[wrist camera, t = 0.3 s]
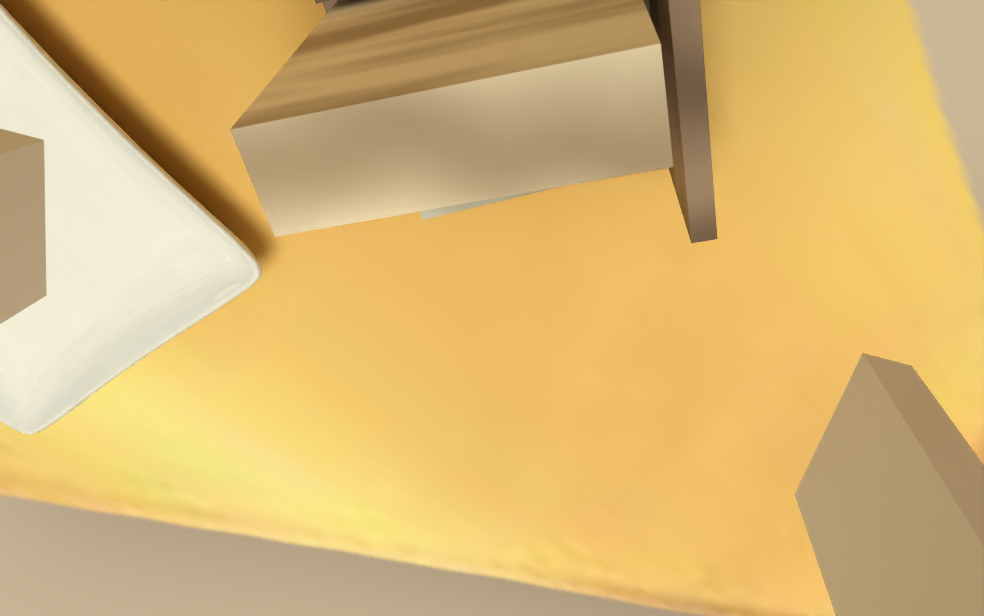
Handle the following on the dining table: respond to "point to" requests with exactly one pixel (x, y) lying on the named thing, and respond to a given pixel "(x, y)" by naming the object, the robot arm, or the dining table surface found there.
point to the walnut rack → (682, 110)
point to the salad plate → (101, 247)
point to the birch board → (454, 107)
